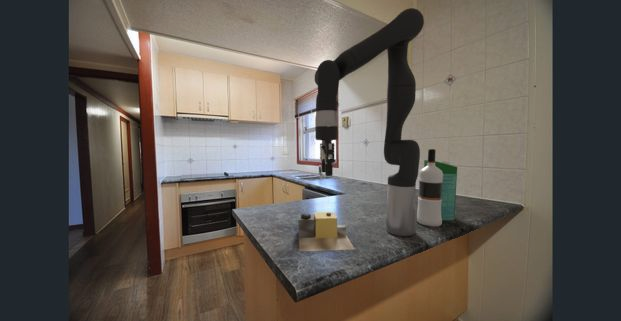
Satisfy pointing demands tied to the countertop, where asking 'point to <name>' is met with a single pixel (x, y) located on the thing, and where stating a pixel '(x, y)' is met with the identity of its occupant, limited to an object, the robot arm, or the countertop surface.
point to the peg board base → (320, 244)
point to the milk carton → (447, 189)
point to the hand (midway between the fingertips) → (326, 173)
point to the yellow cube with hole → (325, 225)
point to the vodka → (430, 193)
